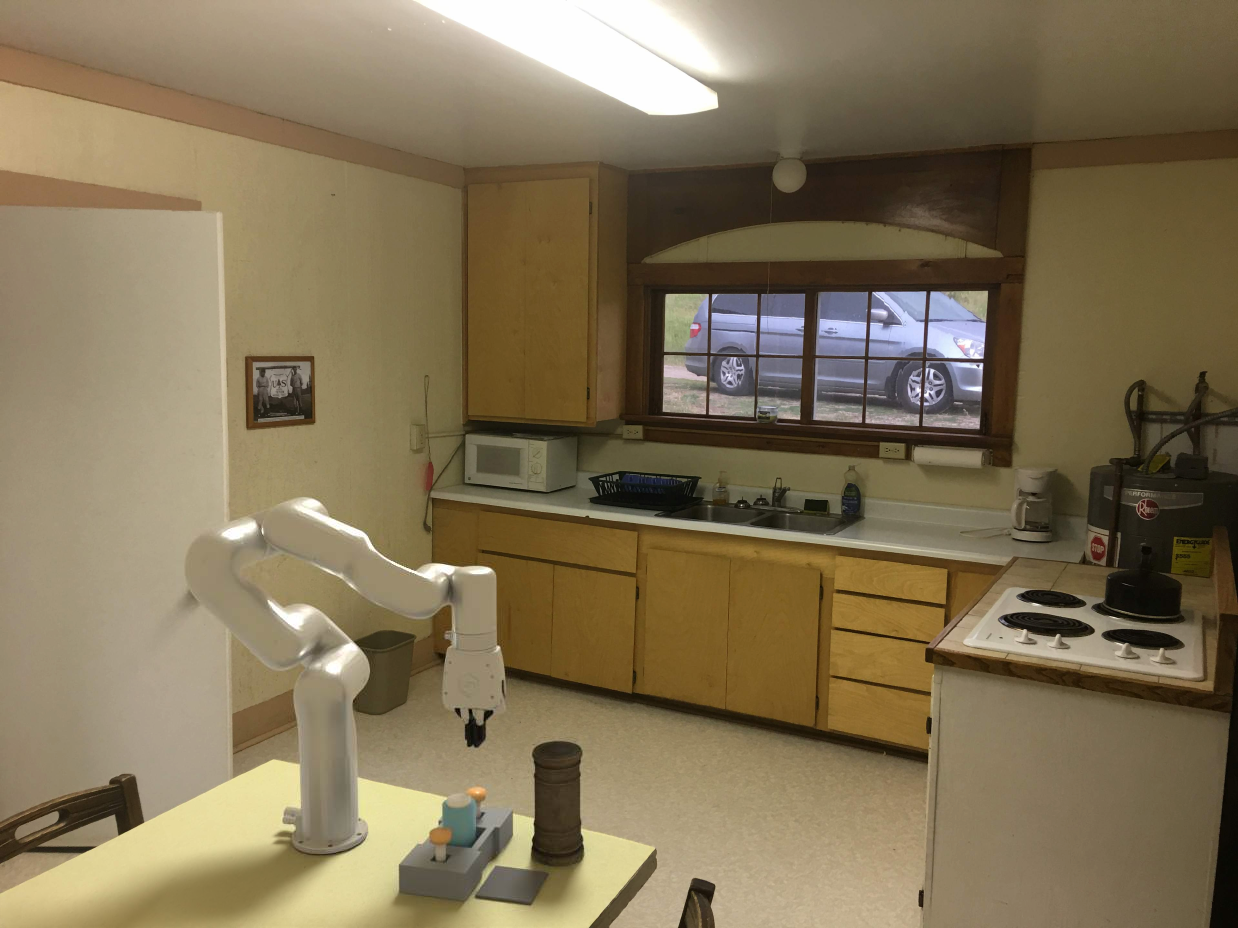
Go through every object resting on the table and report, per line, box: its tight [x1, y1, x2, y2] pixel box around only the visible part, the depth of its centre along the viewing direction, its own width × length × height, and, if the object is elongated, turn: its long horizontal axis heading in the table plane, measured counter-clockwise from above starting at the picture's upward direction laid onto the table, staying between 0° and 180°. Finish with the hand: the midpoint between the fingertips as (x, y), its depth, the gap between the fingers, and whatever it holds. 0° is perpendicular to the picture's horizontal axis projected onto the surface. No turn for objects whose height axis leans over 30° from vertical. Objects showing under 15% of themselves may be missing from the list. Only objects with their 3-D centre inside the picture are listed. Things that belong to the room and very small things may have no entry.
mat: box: [474, 865, 549, 906], centre depth 147 cm, size 9×9×1 cm
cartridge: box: [441, 792, 476, 848], centre depth 154 cm, size 5×5×11 cm
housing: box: [398, 805, 514, 902], centre depth 154 cm, size 11×22×4 cm, turn 167°
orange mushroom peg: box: [465, 786, 487, 819], centre depth 161 cm, size 3×3×6 cm
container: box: [530, 740, 585, 867], centre depth 157 cm, size 9×9×18 cm
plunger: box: [428, 826, 452, 863], centre depth 147 cm, size 3×3×6 cm
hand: (475, 744), depth 160 cm, fingers closed
